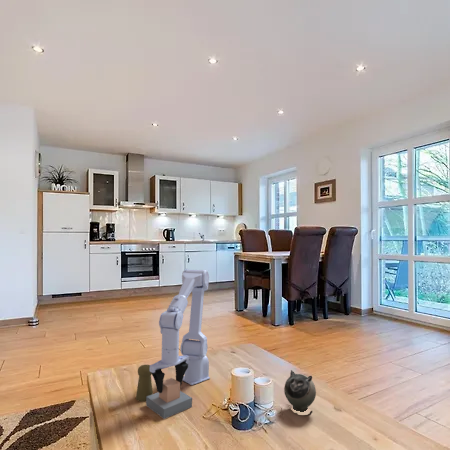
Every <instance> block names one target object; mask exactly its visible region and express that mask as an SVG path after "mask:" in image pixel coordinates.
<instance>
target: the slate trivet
mask: <svg viewBox="0 0 450 450" xmlns="http://www.w3.org/2000/svg"><path fill="white" fill-rule="evenodd" d="M145 406H146V407H147V408H149V410H151V411H152V412H154V413H155V414H157V415H158V416H159V417H161V418H162V419H163V420H166V419H168V418H170V417H172V416H175V415H177V414H179V413H182V412H184V411H186V410H188V409H190V408H193V397H191V396H190V395H189V394H186V393H185V392H183V391H181V390H180V398H178V399H175V400H173V401H170V402H168V403H167V402H166V401H164V400H163V399H161V398H160V397H159V392H158V391H157V392H155V393H153V394H152V395H149V396H146V401H145Z"/></svg>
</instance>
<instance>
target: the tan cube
mask: <svg viewBox="0 0 450 450" xmlns="http://www.w3.org/2000/svg"><path fill="white" fill-rule="evenodd" d="M180 391H181V386H180V382H178V381H177V380H176V378H173V377H170V378H167V379H163V391H162V393H159V397H160V398H161V399H163V400H164V401H166V402H167V403H168V402H170V401H173V400H175V399H178V398H180Z"/></svg>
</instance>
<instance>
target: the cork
mask: <svg viewBox="0 0 450 450" xmlns="http://www.w3.org/2000/svg"><path fill="white" fill-rule="evenodd" d="M150 365H151V364H142V365H139V366H138V369H137V375H138V381H137V387H136V392H135V393H136V394H135V400H136V401H138V402H146V396H149V395H152V394H154V393H153V382H152V374H151V372H150Z"/></svg>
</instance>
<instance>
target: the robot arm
mask: <svg viewBox="0 0 450 450" xmlns="http://www.w3.org/2000/svg"><path fill="white" fill-rule="evenodd" d="M208 271H209V270H207V269H190V268H185V269H184V270H183V271H182V275H181V282H182V284H181V287H180V289H179V292H178V294H177V295H174V296H173V298H171V299H172V300H171V301H170V303H169V305H168V307H167V308H166V310H165V311H163V312H162V313H161V314H160V316H159V320H158V326H159V328H160V329H159V330H160V334H161V359H160V360H158V361H156V362H155V363H152V364H149V365H150V372H151V377H153V380H154V383H155V387H156V391H157V392H159V393H162V391H163V381H164V380H165V379H164V378H165V375H166V374H165V373H164V372H163V370H164V369H167V368H170V367H174V369H175V380H177V381H178V382H180V387H181V386H182V383H183V382H185V383H187V384H188V385H191V386H193V385H197V384H199V383H201V382H204V381H207V380H210V378H211V377H210V375H209V371H210V370H209V369H210V368H209V367H210V365H209V364H210V361H209V358H208V356H207V352H208V337H207V336H206V335H205V334H204V333H203V332H202V323H203V322H202V321H203V309H204V308H203V307H204V298H205V297H204V296H205V291H208V290H209V283H210V281H209V280H210V275H209V272H208ZM190 294H191V295H190ZM189 296H191V304H190V316H189V317H190V318H189V325H188V327H189V329H188V331H187V332H186V333H185V334H184V335H183V336H182V339H181V340H182V341H181V343H180V329H181V327H182V325H183V319H184V314H185V311H186V309H187V306H188V304H189V301H188V298H189ZM179 346H180V348H179ZM179 350H180V351H179ZM179 352H180V353H181V355H179Z"/></svg>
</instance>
